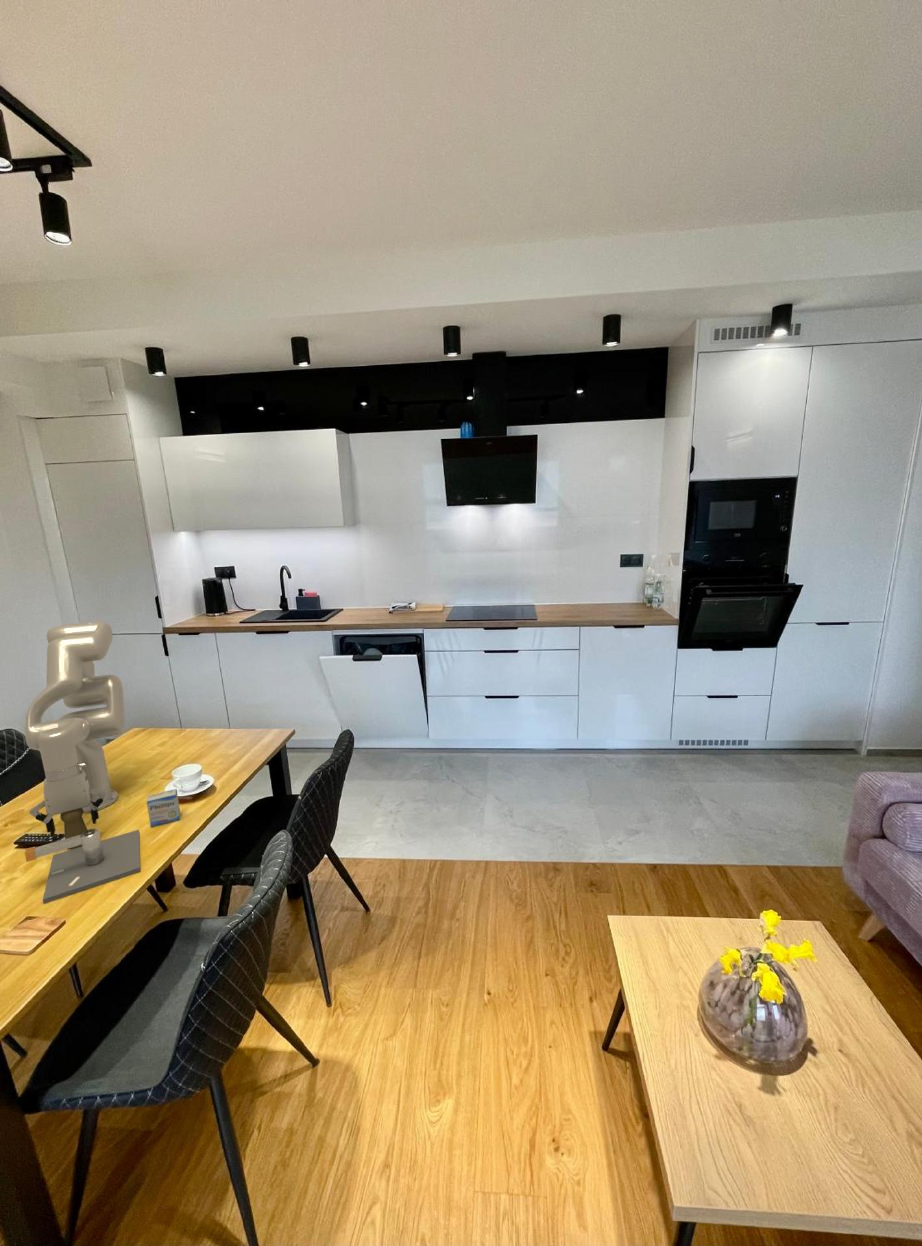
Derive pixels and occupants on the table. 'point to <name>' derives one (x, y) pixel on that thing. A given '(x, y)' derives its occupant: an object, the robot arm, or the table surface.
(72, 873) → the dial plate
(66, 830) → the cork
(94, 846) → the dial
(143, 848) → the table surface
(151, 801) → the medicine box
